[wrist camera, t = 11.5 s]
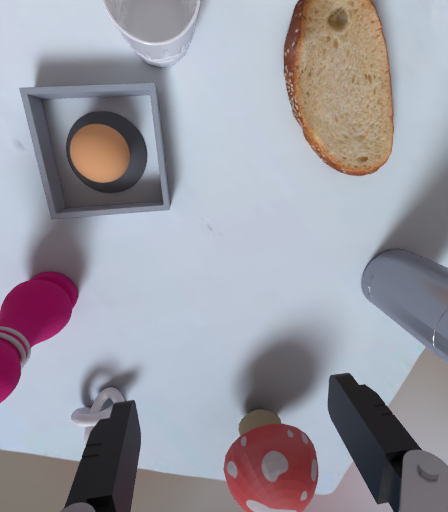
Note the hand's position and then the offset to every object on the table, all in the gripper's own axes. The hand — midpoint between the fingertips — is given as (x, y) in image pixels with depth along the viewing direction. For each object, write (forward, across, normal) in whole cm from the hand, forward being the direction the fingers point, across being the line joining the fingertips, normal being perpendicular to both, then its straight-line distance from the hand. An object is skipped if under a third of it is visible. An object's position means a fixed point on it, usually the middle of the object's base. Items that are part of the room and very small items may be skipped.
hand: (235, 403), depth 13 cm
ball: (+26, +10, -10) cm, 30 cm away
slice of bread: (+30, -19, -16) cm, 39 cm away
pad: (+30, +10, -10) cm, 33 cm away
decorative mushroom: (+30, -7, +33) cm, 45 cm away
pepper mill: (+30, +20, +7) cm, 37 cm away
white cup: (+30, +3, -22) cm, 37 cm away
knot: (+30, +16, +26) cm, 43 cm away
